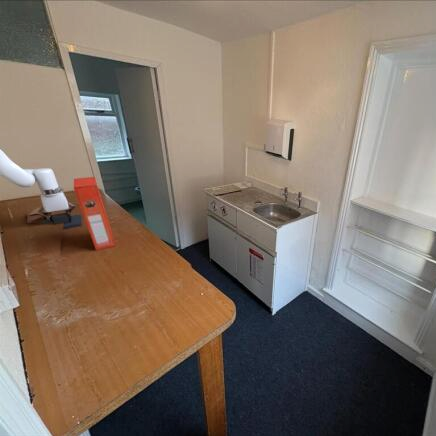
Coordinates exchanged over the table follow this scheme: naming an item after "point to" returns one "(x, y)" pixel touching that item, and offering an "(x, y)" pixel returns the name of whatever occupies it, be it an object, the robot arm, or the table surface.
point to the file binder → (94, 212)
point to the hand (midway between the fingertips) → (61, 220)
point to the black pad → (60, 218)
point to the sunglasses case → (36, 216)
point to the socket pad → (73, 222)
